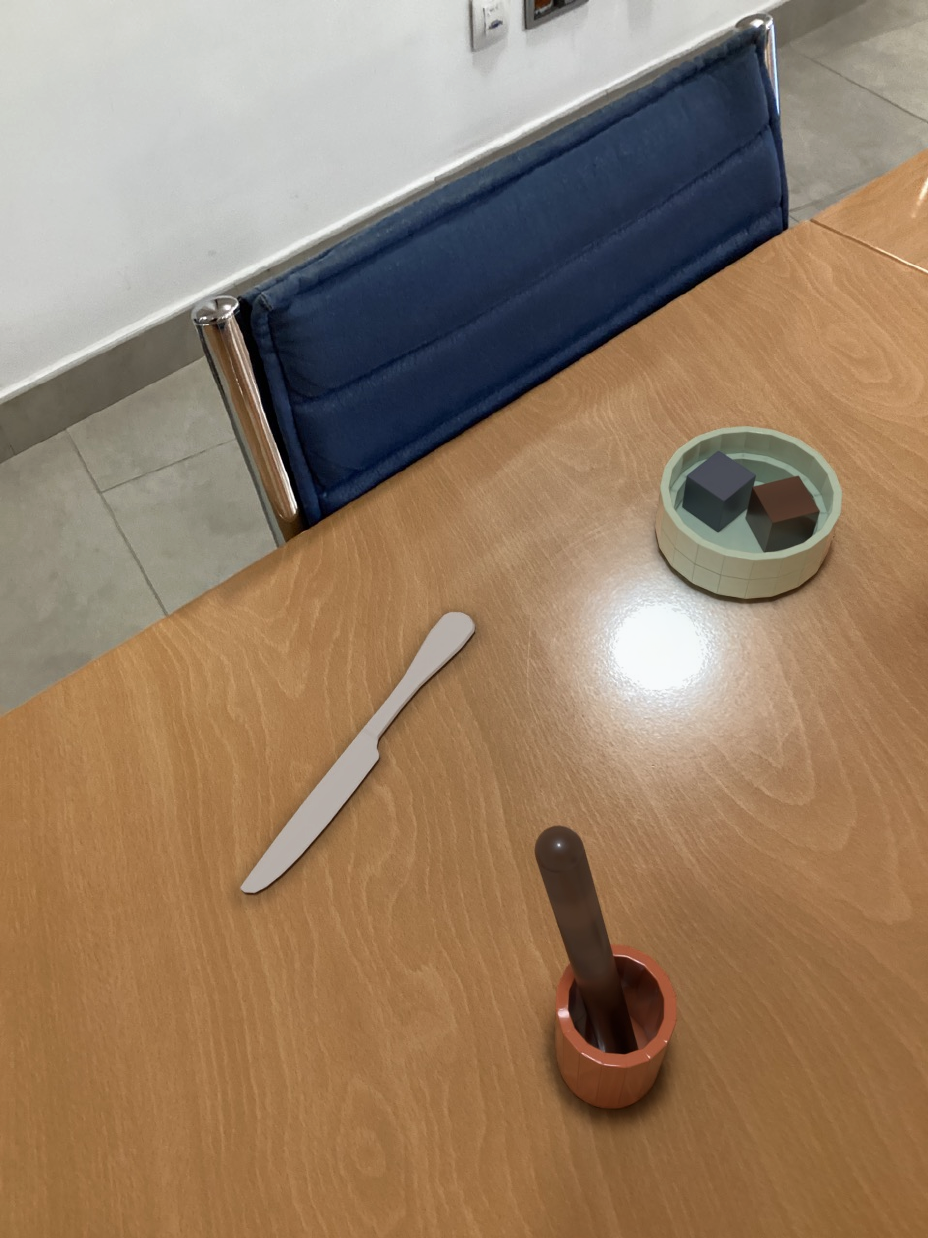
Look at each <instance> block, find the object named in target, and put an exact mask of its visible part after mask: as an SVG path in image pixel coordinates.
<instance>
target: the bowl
mask: <svg viewBox="0 0 928 1238" xmlns="http://www.w3.org/2000/svg"><path fill="white" fill-rule="evenodd" d="M717 451H721V452H722V453H724V454H725V455H727V456H728V457H730V458H731V459H733V460H734V461H736V462H737V463H739V464H740V465H742V466H743V467H745V468H746V469H748V470H749V471H751V472H752V473H754V474H755V475H756V478H755V483H754V486H757V485H761V484H765V483H769V482H774V481H778V480H782V479H786V478H790V477H794V476H798V475H799V477H800V478H801V480H802V482H803V483H804V485H805V487H806V488H807V490H808V492H809V493H810V495H811V497H812V498H813V500H814V502H815V503H816V505H817V507H818V508H819V510H820V513H819V516H818V520H817V523H816V526H815V529H814V532H813V536H812V537H811V538H809V539H808V540H807V541H805V542H804V543H802V544H799V545H796V546H794V547H791V548H787V549H783V550H779V551H775V552H765V553H764V552H763V550H762V549H761V547H760V545H759V543H758V541H757V539H756V537H755V536H754V534H753V532H752V530H751V528H750V526H749V525H748V523H747V521H746V519H745V518H746V513H747V509H748V508H747V509H746V510H745V511H743V512H742V513H741V514H740V515H739V516H737V517H736V518H735V519H734V520H733V521H731V522H730V523H729V524H728V525H726V526H725V527H724V528H723V529H722V530H720V531H719V532H717V531H715V530H714V529H712V528H711V527H709V526H708V525H707V524H705V523H704V522H702V521H701V520H700V519H698V518H697V517H695V516H694V515H693V514H691V513H690V512H688V511H687V510H685V509H684V508H683V507H682V504H683V497H684V490H685V483H686V476H687V475H688V474H689V473H690V472H692V471H693V470H694V469H695V468H697V467H698V466H699V465H701V464H702V463H703V462H704V461H706V460H707V459H708V458H709V457H711V456H712V455H713V454H715V453H716V452H717ZM842 504H843V490H842V487H841V484H840V482H839V478H838V475H837V472H836V471H835V469H833V467H832V466H831V465H830V463H829V462H828V461H827V460H826V459H825V457H824V456H823V455H822V454H821V453H820V452H819V451H817V450H816V449H814V447H811V446H810V445H808V444H807V443H806V442H805V441H803V440H801V439H800V438H798V437H794V436H792V435H789V434H787V433H785V432H781V431H779V430H776V429H773V428H765V427H758V426H750V425H741V426H729V427H720V428H716V429H714V430H711V431H707V432H705V433H702V434H698V435H696V436H694V437H693V438H691V439H690V440H689V441H687V442H686V443H684V444H683V445H682V446H680V447H678V448H677V449H676V450H675V452H674V453H673V454H672V456H671V457H670V459H669V460H668V461H667V463H665V465H664V468H663V472H662V475H661V479H660V485H659V493H658V500H657V509H656V517H655V518H656V519H655V526H654V527H655V532H656V537H657V538H656V539H657V543H658V547H659V549H660V551H661V552H662V554H663V555H664V557H665V559H666V560H667V562H668V563H669V565H670V566H671V567H672V568H673V569H674V570H675V571H677V572H678V574H680V575H682V577H684V578H685V579H686V580H687V581H689V582H690V583H692V584H693V585H695V586H697V587H700V588H702V589H705V590H707V591H709V592H711V593H714V594H717V595H721V596H728V597H732V598H733V597H734V598H739V599H745V600H747V599H757V598H758V599H760V598H771V597H775V596H778V595H780V594H783V593H786V592H789V591H791V590H794V589H796V588H799V587H801V585H803V584H804V583H805V582H807V581H808V580H809V579H810V578H812V577H813V576H814V575H815V574H817V572H819V569H820V568H821V566H822V564H823V562H824V560H825V559H826V557H827V555H828V552H829V550H830V546H831V543H832V541H833V538H834V535H835V531H836V530H837V529H836V528H837V526H838V523H839V520H840V517H841V514H842Z"/></svg>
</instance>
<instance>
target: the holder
mask: <svg viewBox="0 0 928 1238" xmlns="http://www.w3.org/2000/svg"><path fill="white" fill-rule="evenodd" d="M610 945H611V949H612V952H613V956H614V960H615V963H616V967H617V971H618V974H619V978H620V982H621V986H622V989H623V993H624V997H625V1000H626V1004H627V1008H628V1012H629V1015H630V1019H631V1023H632V1026H633V1030H634V1034H635V1037H636V1041H637V1045H638V1049H639V1050H636V1051H633V1052H630V1053H627V1054H615V1053H605V1052H603V1051H601V1050H600V1049H598V1046H597V1043H596V1040H595V1037H594V1034H593V1031H592V1028H591V1025H590V1022H589V1019H588V1016H587V1013H586V1010H585V1007H584V1004H583V1001H582V998H581V995H580V992H579V989H578V986H577V983H576V980H575V976H574V973H573V970H572V967H571V964H570V963H568V964H567V966H565V969H564V970H563V973H562V975H561V977H560V979H559V981H558V984H557V985H556V993H555V994H556V996H555V1059H556V1063H557V1066H558V1070H559V1073H560V1075H561V1077H562V1079H563V1081H564V1083H565V1084H566V1086H567V1087H568V1088H569V1089H570V1091H571V1092H572V1093H573V1094H574V1095H575V1096H577V1098H579V1099H581V1100H582V1101H583V1102H585V1103H587V1104H589V1105H591V1106H593V1107H597V1108H601V1109H606V1110H607V1109H610V1110H612V1109H613V1110H615V1109H622V1108H625V1107H628V1106H630V1105H633V1104H634V1103H636V1102H638V1101H640V1100H641V1099H642V1098H643V1097H645V1095H646V1094H648V1092H650V1090H651V1089H652V1087H653V1086H654V1084H655V1081H656V1079H657V1077H658V1074H659V1071H660V1069H661V1067H662V1064H663V1062H664V1059H665V1056H666V1053H667V1050H668V1047H669V1045H670V1041H671V1039H672V1036H673V1033H674V1031H675V1028H676V1026H677V1021H678V999H677V995H676V992H675V990H674V988H673V984H672V982H671V980H670V977H669V975H668V974H667V972H666V971H665V970H664V969H663V968H662V967H661V966H660V965H659V963H658V962H657V961H656V960H655V959H654V958H653V957H652V956H650V955H649V954H647V953H645V952H643V951H641V950H639V949H637V948H636V947H633V946H629V945H625V944H613V943H610Z"/></svg>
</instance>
